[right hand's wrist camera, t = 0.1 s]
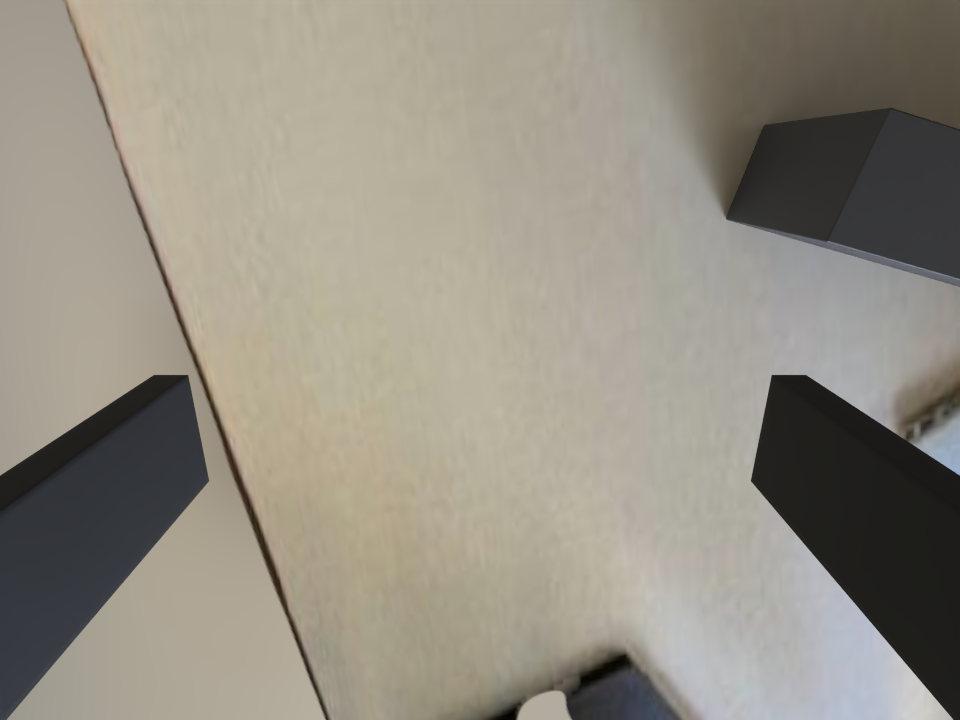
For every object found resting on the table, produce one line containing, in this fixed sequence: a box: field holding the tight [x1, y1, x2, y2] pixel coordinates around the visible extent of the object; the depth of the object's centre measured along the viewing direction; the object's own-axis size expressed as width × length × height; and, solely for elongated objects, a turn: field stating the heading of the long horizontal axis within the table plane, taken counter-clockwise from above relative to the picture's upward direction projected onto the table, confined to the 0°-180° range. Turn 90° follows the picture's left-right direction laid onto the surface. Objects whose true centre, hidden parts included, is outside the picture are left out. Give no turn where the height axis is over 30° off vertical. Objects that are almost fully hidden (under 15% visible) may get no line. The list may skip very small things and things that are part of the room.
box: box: [726, 108, 960, 286], centre depth 33 cm, size 22×6×12 cm, turn 75°
